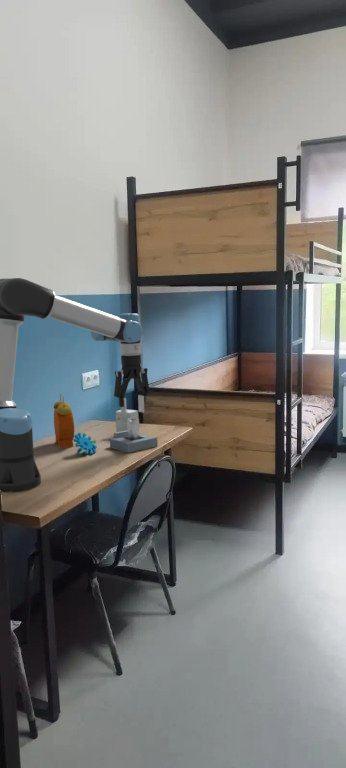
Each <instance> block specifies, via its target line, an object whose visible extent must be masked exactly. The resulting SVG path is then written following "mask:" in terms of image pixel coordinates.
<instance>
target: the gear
mask: <svg viewBox="0 0 346 768" xmlns="http://www.w3.org/2000/svg"><path fill="white" fill-rule="evenodd" d="M86 436H87V434H86V433H84V432H83V433H82V432H78V433H76V434H74V439H73V443H75V447H79V448H78V449H77V450H76V451H77V454H78V453H80V452H83V450H85V451H84V452H83V453H84V454H86V455H88V454H89V455H91V456H93V454H95V453H96V452H97V450H96V449H97V448H98V446H97V445H95V444H96V442H97V440H96V439H94V440H92V437H91V436H90V435H89V436H88V437H86Z"/></svg>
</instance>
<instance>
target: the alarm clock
mask: <svg viewBox="0 0 346 768" xmlns="http://www.w3.org/2000/svg"><path fill="white" fill-rule="evenodd" d="M59 394H60V395H59V399H60V400H59V401H56V402H55V403H54V404H53V409H54V410H53V427H54V435H55V444H58V448H59V449H62V448H63V449H64V448H65V449H66V448H73V447H74V441H73V440H74V438H75V437H74V436H75V422H74V421H75V420H74V415H73V410H72V406H71V405H70V404H68V402H66V401H65V400H64V399H65V398H64V397H65V396H64V395H63V394H62V393H59Z"/></svg>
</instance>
